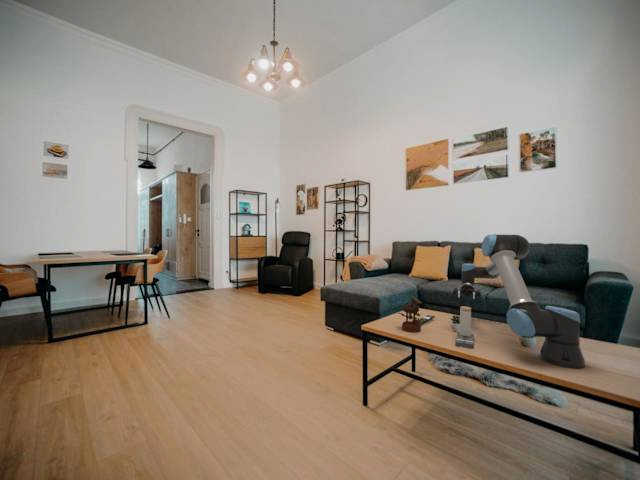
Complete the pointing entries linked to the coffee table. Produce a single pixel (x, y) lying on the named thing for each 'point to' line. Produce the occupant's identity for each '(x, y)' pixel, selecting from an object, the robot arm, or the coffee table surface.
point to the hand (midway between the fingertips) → (466, 295)
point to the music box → (410, 308)
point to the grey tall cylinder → (465, 321)
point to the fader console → (464, 341)
